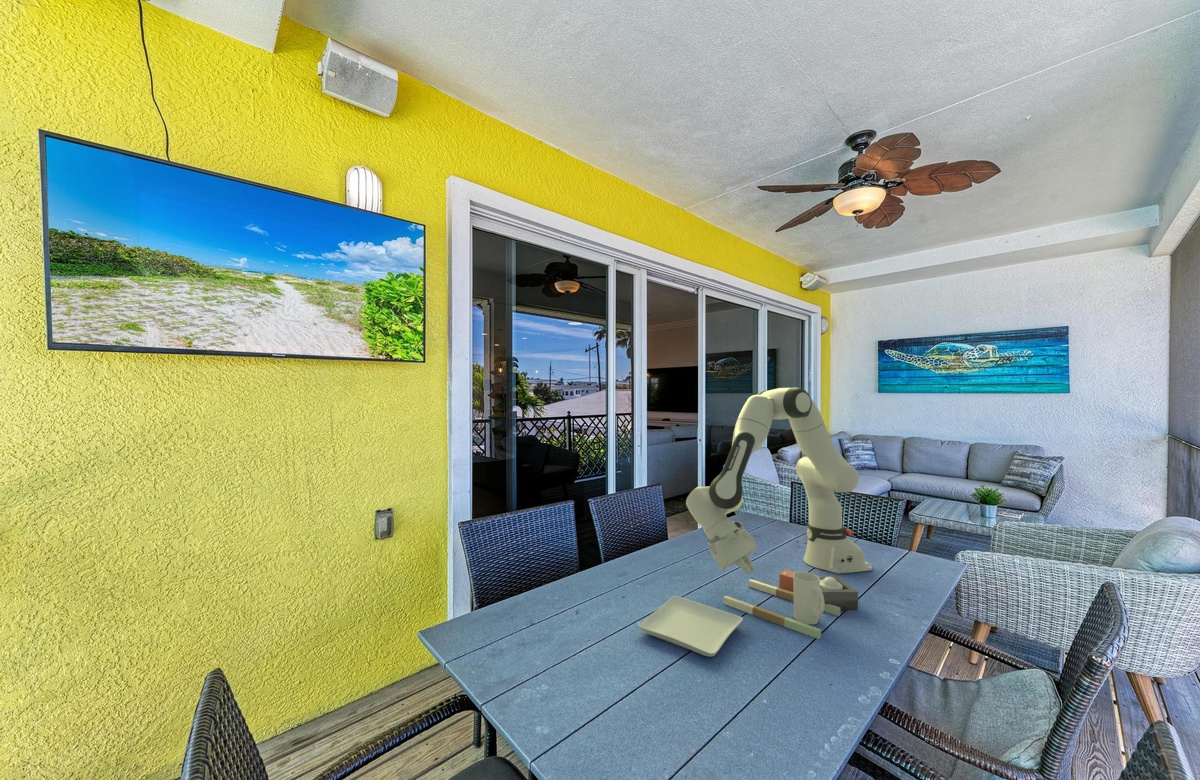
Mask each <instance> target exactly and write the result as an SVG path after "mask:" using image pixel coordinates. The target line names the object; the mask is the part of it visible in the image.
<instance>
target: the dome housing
mask: <svg viewBox="0 0 1200 780" xmlns="http://www.w3.org/2000/svg"><path fill="white" fill-rule="evenodd" d="M818 577H819V578H820V580H823V579H824V578H826V577H827V576H818ZM832 577H833V578H835V579H836V580H837V582H839V583H840V584H842V589H824V588H823V587H821V586H820V588H821V589H822V593H823V597H824V603H825V604H831V605H835V606H838V607H840V612H842V611H848V612H849V610H850V611H851V612H853V611H855V610H858V611H859V591H858V590H857V589H856V588H854V587H853V586H851V585H850V584H848V583H847V582H846V581H844V580H843V579H842V578H841V577H839V576H832ZM819 601H820V598H819ZM855 612H856V611H855Z"/></svg>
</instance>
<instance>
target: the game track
mask: <svg viewBox="0 0 1200 780" xmlns="http://www.w3.org/2000/svg"><path fill="white" fill-rule="evenodd" d="M748 587H749V588H752V589H754V590H758V591H761V592H763V593H764V592H765V593H768V594H769V595H773V596H777V597H779V598H782V599H786V600H788V601H792V602H794V593H793V592H790V591H787V590H784V589H781V588H779V587H777V586H774V585H772V584H771V585H770V584H767V583H764V582H762V581H758V580H755V579H752V578H751V579H749V580H748ZM723 605H725V606H729V607H731V608H734V609H737V610H738V611H742V612H744V613H747V614H749V615H752V616H755V617H758V618H761V619H763V620H766V621H768V622H772V623H774V624H777V625H780V626H782V627H785V628H788V629H790V630H793V631H796V632H798V633H801V634H802V635H803V634H804V635H807V636H808V637H809V636H810V637H812V638H815V639H817V640H820V639H821V637H822V629H821V628H818V627H815V626H812V625H810V624H805V623H802V622H799V621H797V620H796V619H793V618H790V617H788V616H784V615H782V614H779V613H776V612H773V611H770V610H767V609H765V608H762V607H760V606H756V605H754V604H751V603H748V602H745V601H743V600H739V599H737V598H734V597H731V596H728V595H725V596H724V597H723ZM819 608H820V601H819ZM824 612H825V613H828V614H830V615H834V616H837V617H840V615H841V611H840V607H838V606H835V605H831V604H825V606H824V611H823V613H824Z"/></svg>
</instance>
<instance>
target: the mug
mask: <svg viewBox="0 0 1200 780" xmlns="http://www.w3.org/2000/svg"><path fill="white" fill-rule="evenodd" d="M794 572H795V571H794ZM819 577H820V576H818V575H816V574H814V573H811V572H808V571H796V572H795V573H794V574H793V589H794V601H793V617H794V620H796V621H799V622H802V623H805V624H807V625H810V626H812V625H817V624H818V622H819V619H820V618H822V617H823V615H824V614H823V613H824V606H825V603H824V597H823V593H822V589H821V588H820V578H819ZM819 598H820V608H819Z"/></svg>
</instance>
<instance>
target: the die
mask: <svg viewBox="0 0 1200 780" xmlns="http://www.w3.org/2000/svg"><path fill="white" fill-rule="evenodd" d="M794 573H795V571H792V570H789V569H784V570H782V572H780V573H779V574H778V576H779V577H778V578H779V581H778V584H779V587H778V588H781V589H784V590H787V591H790V592H793V593H794V589H793V574H794Z"/></svg>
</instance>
